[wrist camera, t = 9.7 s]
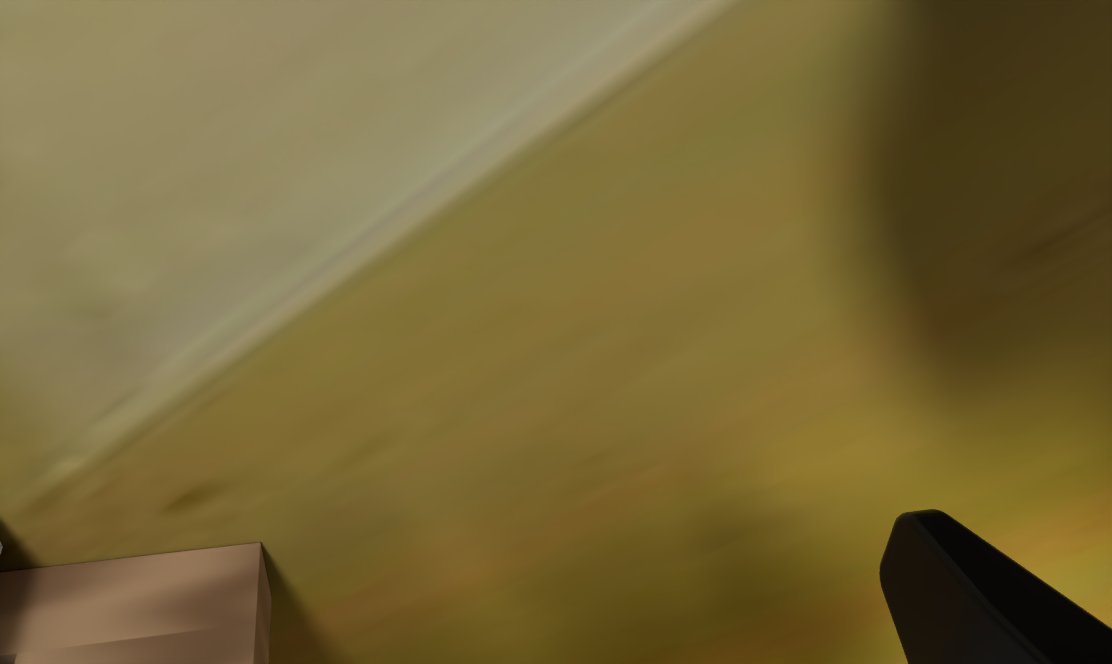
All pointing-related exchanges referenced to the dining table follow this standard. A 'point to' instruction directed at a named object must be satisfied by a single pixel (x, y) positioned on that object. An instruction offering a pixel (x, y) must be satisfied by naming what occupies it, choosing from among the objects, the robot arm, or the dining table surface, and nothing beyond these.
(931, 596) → the robot arm
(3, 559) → the dining table surface
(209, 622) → the brown wooden block
